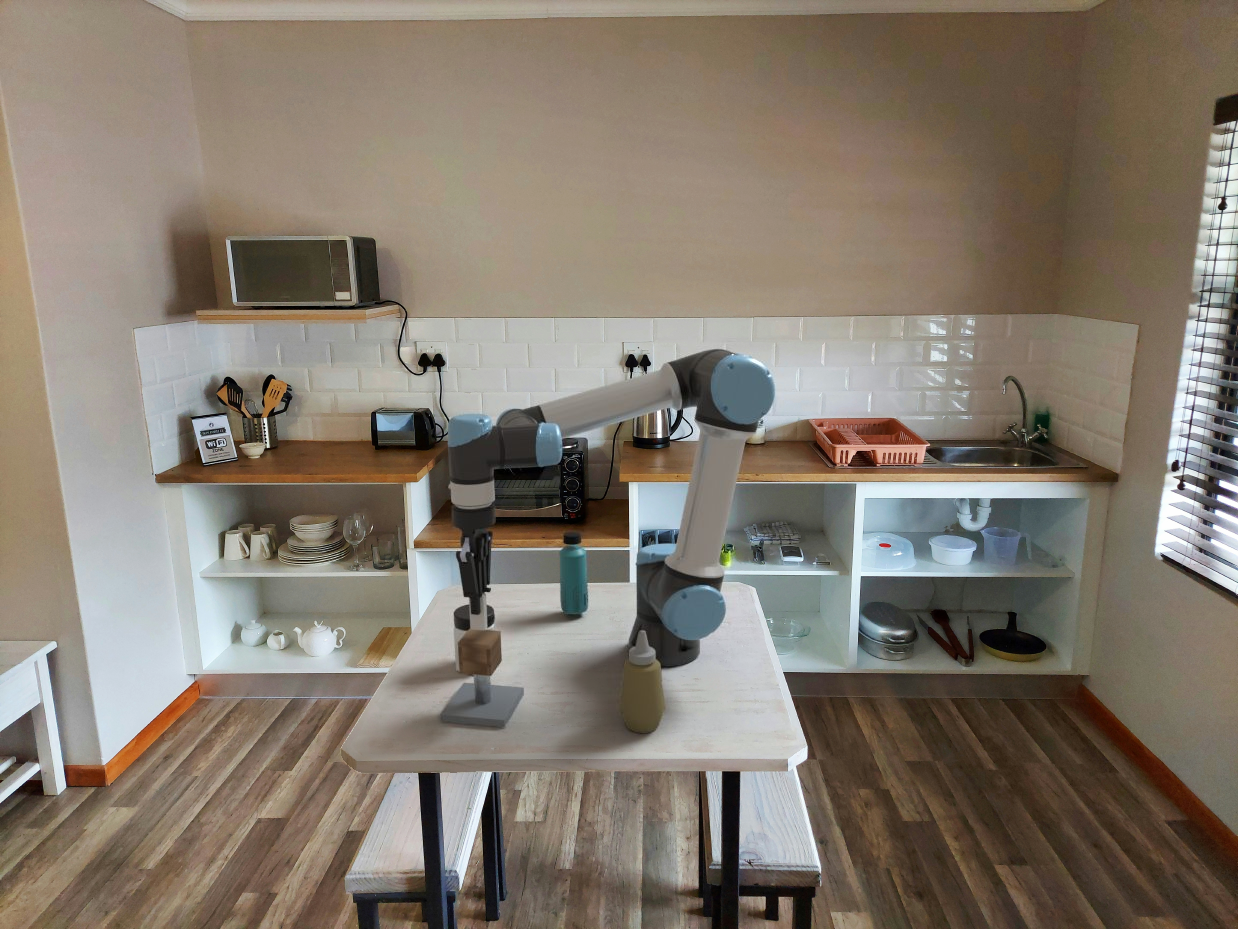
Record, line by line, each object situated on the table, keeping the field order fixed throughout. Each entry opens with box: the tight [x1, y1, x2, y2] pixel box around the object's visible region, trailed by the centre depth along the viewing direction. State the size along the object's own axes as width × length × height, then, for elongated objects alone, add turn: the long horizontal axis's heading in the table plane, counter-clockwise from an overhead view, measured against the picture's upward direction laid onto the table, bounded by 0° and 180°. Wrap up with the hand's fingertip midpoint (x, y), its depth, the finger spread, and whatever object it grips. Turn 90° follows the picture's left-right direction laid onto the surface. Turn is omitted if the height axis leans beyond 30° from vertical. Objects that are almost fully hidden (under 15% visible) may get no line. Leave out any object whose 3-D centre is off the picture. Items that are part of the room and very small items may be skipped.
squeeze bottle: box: [619, 630, 666, 734], centre depth 152 cm, size 8×8×18 cm
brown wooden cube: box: [458, 629, 503, 677], centre depth 157 cm, size 6×6×6 cm
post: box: [473, 675, 492, 705], centre depth 158 cm, size 3×3×12 cm
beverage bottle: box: [559, 531, 589, 615], centre depth 198 cm, size 6×7×20 cm
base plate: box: [439, 682, 525, 728], centre depth 160 cm, size 12×12×2 cm
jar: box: [453, 603, 496, 676], centre depth 175 cm, size 9×8×12 cm
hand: (478, 628), depth 156 cm, fingers closed
